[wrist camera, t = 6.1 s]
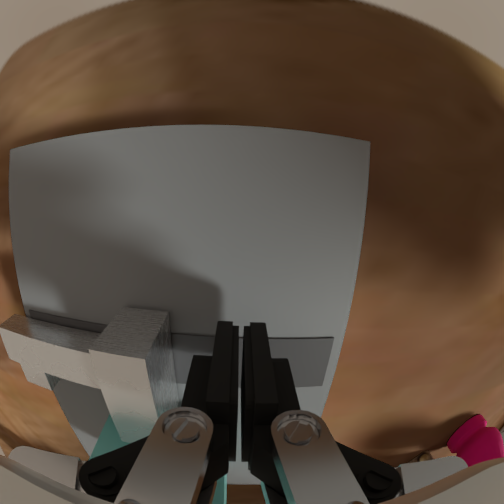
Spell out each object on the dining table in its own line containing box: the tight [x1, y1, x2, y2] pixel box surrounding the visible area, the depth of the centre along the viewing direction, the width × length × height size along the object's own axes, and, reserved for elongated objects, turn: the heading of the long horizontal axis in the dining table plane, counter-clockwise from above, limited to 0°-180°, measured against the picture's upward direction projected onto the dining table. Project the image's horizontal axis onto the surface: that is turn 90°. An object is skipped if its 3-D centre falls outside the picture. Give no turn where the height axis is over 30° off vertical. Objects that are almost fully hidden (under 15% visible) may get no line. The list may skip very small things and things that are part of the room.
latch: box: [0, 307, 179, 443], centre depth 9 cm, size 10×5×3 cm, turn 87°
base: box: [9, 125, 370, 484], centre depth 13 cm, size 16×22×4 cm
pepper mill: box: [447, 414, 504, 467], centre depth 12 cm, size 7×7×20 cm
